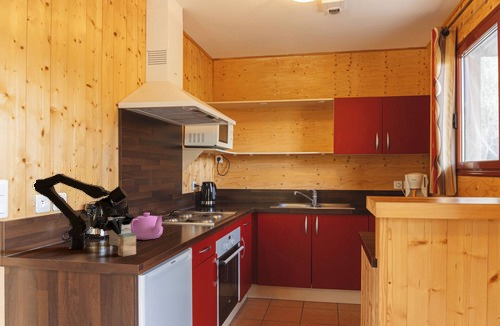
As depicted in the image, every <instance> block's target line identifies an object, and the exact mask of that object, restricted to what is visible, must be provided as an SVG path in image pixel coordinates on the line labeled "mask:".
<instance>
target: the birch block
mask: <svg viewBox="0 0 500 326" xmlns="http://www.w3.org/2000/svg"><path fill="white" fill-rule="evenodd" d="M136 254H137V239H136V233H131V232H130V233H123V234H118V246H117V256H120V257H127V256H133V255H136Z"/></svg>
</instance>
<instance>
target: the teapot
mask: <svg viewBox="0 0 500 326" xmlns="http://www.w3.org/2000/svg"><path fill="white" fill-rule="evenodd" d="M150 214H151V212H143V215H138V216H137V217H136V218H134V219H133V220H132V222H131V233H136V240H142V241H148V240H154V239H158V238H160V237H161V236H162V234H163V231H164V227H163V226H162V224H163V219H162V217H163V215H150Z"/></svg>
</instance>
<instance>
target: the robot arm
mask: <svg viewBox="0 0 500 326" xmlns="http://www.w3.org/2000/svg"><path fill="white" fill-rule="evenodd" d="M58 184H62V185H66V186H67V187H70V188H74V189H76V190H78V191H80V192H82V193H84V194H86V195H87V196H89V197H90V198H92V199H95V200H96V199H97V200H96V201H95V202H94V204H93V206H95V207H96V208H100V210H101V213H102V214H101V215H100V216H99V215H97V216H95V217H94V219H93V220H92V221H90V220H91V219H90V218H88V217H87V215H86V214H85V213H81V214H80V213H78V212H77V211H76V210H75V209H74V208H73V207H71V205H70V204H69V203H68V202H67V201H66V200H65V199H64V198H63V197H62V196H61V195H60V194H59V193H58V192H57V190H56V188H55V186H56V185H58ZM34 187H35V190H34V191H35V192H36V193H39V194H40V195H42V196H43V197H45V198H47V199H48V200H49V201H50V202H51V204H53V205H54V206H55V207H56V208H57V209H58V210H59V211H60V212H61V213H62V215H64V216H65V217H66V218H67V219H68V221H69V223H70V226H71V227H72V228H71V229H70V230H68V232H67V235H68V237H70V247H68V250H83V249H85V248H86V247H87V245H85V234H87V231H88V230H89V229H90V228H91V229H93V230H94V229H95V230H96V229H98V230H99V231H101V230H102V232H110V231H111V230H113V231H114V232H115V233H116V234H117V235H118V234H121V228H122V225H129V224H130V223H131V222H132V220H133V219H135V216H134V214H133V213H131V212H130V213H125V214H123V216H120V213H119V212H117V206H116V205H114V204H120V203H121V202H123V201H124V200H126V199H127V198H129V196H128V194H127V191H126V190H124V189H123V188H122V187H121V185H117V187H115V188H114V189H113V190H107V189H106V188H104V186H102V185H96V184H89V183H86V182H83V181H81V180H78V179H76V178H74V177H71V176H69V175H66V174H64V173H56V174H54V175H52V176H49V177H45V178H38V179H36V183H35V184H34ZM98 199H99V200H98Z"/></svg>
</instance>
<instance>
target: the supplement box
mask: <svg viewBox="0 0 500 326" xmlns="http://www.w3.org/2000/svg"><path fill="white" fill-rule="evenodd" d="M130 232H131V223H130V224H129V225H122V228H121V234H123V233H130ZM108 236H109V238H108V239H109V241H108V242H109V245H112V246H117V247H118V235H117V234H116V233H115V232H114V231H113V230H111V231H109V235H108Z"/></svg>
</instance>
